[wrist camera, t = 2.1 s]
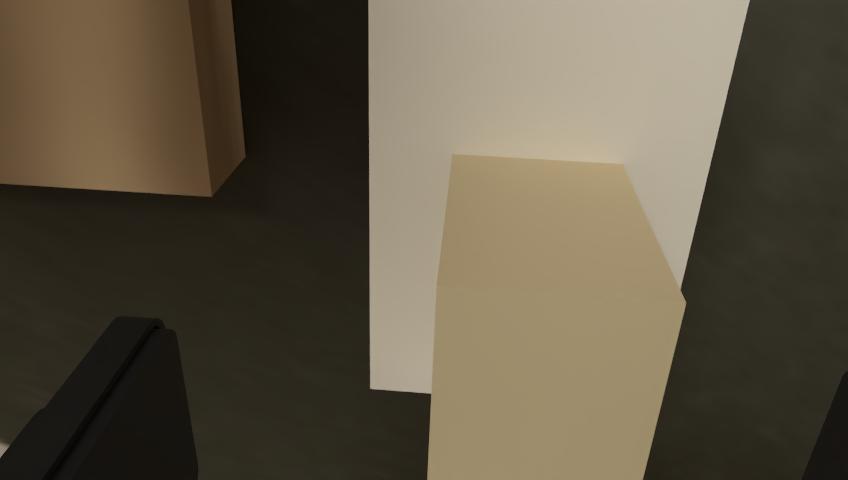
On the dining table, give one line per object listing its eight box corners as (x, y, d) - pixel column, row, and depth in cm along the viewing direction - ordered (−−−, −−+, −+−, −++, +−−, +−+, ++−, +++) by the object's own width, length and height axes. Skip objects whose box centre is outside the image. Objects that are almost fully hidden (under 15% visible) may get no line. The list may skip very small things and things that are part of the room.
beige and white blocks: (659, -125, 17) (963, -112, 6) (598, 236, 22) (711, 607, 11) (415, -134, 18) (295, -136, 7) (407, 223, 22) (329, 572, 11)
